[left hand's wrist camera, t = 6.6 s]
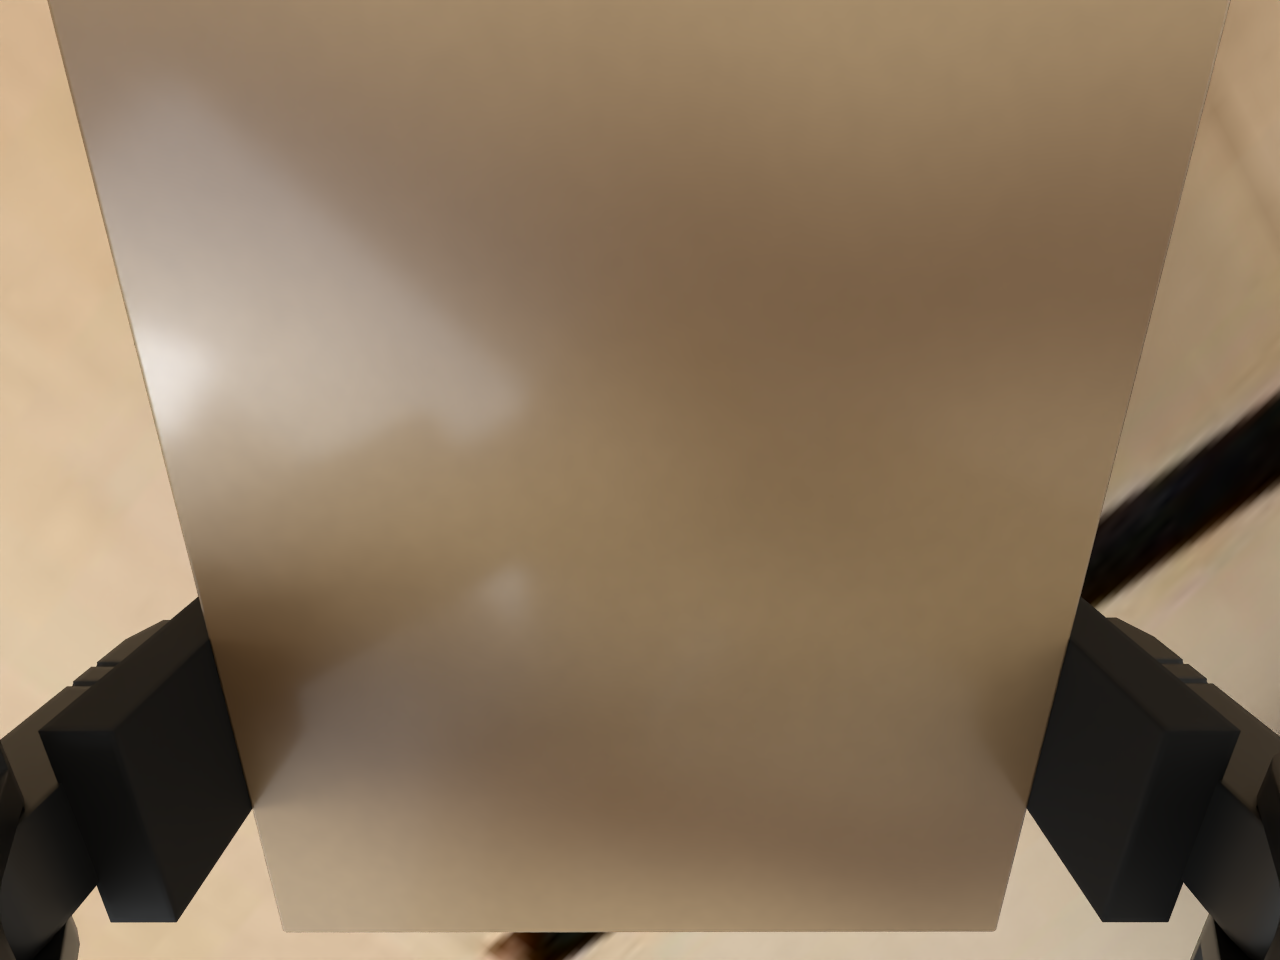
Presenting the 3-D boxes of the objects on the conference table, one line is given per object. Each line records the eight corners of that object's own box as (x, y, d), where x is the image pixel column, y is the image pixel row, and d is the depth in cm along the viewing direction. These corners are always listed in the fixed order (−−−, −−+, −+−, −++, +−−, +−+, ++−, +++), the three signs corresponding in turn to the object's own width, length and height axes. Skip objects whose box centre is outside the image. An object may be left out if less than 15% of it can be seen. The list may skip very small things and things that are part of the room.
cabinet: (355, -361, 13) (-511, -2177, 3) (922, -361, 13) (1784, -2168, 3) (456, 592, 20) (282, 933, 10) (822, 591, 20) (997, 933, 10)
